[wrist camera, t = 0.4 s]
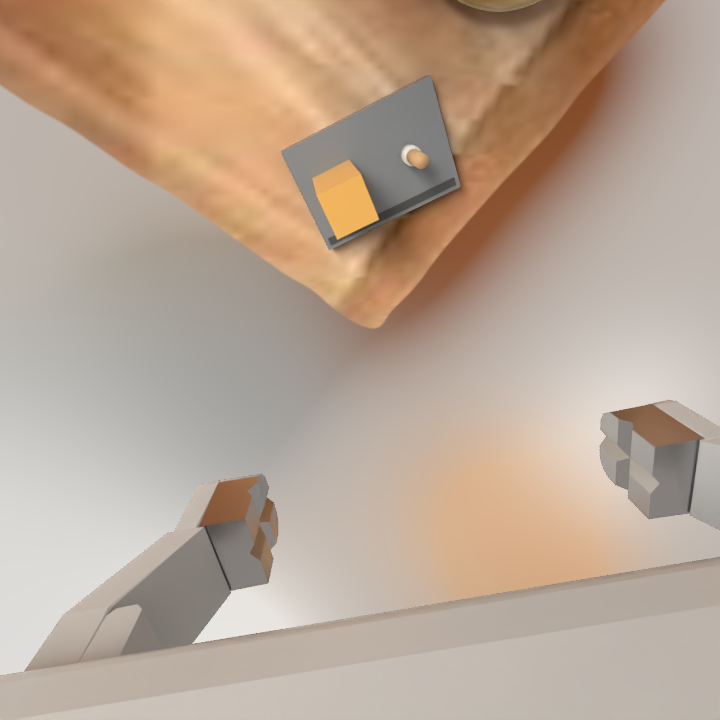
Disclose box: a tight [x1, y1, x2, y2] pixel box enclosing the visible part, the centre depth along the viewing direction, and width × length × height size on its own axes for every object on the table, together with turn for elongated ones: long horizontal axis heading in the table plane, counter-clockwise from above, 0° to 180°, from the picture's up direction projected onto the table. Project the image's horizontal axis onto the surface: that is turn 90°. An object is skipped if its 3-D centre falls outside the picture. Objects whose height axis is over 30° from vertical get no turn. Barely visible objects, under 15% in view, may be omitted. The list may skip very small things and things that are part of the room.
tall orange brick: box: [312, 160, 379, 240], centre depth 48 cm, size 5×5×10 cm
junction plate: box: [281, 75, 461, 250], centre depth 49 cm, size 19×13×8 cm
